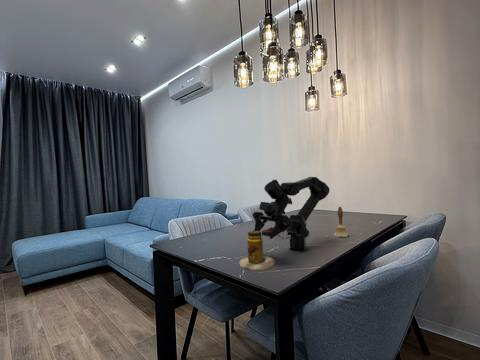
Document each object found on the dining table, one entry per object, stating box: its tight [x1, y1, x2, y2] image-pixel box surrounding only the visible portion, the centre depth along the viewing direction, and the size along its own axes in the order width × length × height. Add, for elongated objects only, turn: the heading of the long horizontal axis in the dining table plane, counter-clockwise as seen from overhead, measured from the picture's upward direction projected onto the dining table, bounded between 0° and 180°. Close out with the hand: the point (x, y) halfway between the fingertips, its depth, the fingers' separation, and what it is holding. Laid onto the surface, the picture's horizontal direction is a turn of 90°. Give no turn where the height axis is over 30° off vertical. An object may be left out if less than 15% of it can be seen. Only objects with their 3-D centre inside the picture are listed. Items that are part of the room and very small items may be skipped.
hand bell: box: [333, 206, 349, 236], centre depth 144 cm, size 8×8×16 cm
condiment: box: [246, 230, 266, 264], centre depth 108 cm, size 7×8×12 cm
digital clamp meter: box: [261, 227, 291, 240], centre depth 154 cm, size 23×4×25 cm
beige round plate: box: [238, 255, 275, 271], centre depth 107 cm, size 14×14×1 cm
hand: (262, 236), depth 109 cm, fingers open, 9 cm apart
